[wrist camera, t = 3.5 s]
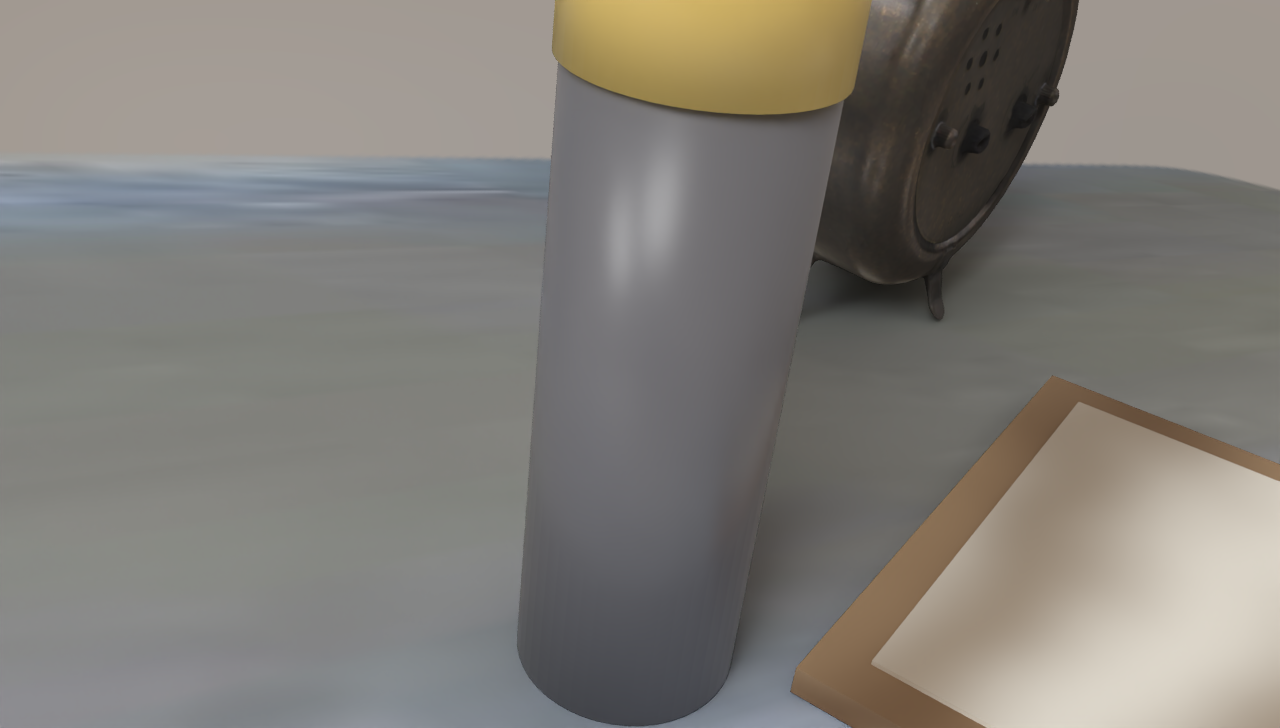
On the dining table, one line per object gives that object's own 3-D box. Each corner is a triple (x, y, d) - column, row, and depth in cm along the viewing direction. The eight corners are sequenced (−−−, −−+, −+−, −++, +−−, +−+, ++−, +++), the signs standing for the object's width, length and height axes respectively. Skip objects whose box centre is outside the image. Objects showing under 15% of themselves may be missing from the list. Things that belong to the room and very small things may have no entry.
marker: (463, 648, 21) (495, -153, 15) (602, 539, 24) (685, -166, 18) (651, 771, 20) (791, -84, 13) (777, 636, 23) (946, -112, 16)
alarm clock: (887, 217, 41) (1011, -321, 33) (1032, 274, 38) (1209, -298, 30) (697, 316, 33) (797, -353, 25) (862, 395, 31) (1036, -327, 22)
